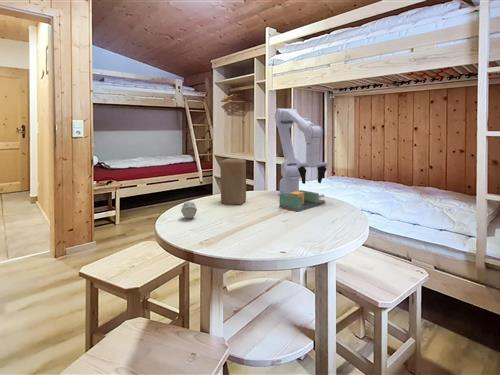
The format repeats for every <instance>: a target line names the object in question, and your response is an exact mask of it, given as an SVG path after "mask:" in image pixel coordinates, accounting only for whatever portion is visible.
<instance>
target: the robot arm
mask: <svg viewBox="0 0 500 375" xmlns="http://www.w3.org/2000/svg"><path fill="white" fill-rule="evenodd" d="M274 121H275V126H276V127H277V129H278V135H279V138H280V144H281V148H282V153H283V158H284V161H283V162H281V164H280V169H281V170H280V174H281V176H282V178H280V181H279V193H278V196H280V194H282V193H287V194H290V193H291V192H296V191H299V190H300V179H301V183H302V185H303V184H304V185H305V184H306V181H307V180H306V175H307V171H308V170H307V169H306V168H317V183H318V184H322V180H323V177H324V175H325V173H326V172H327V168H328V167H329V162H327V161H323V162H322V161H321V162H320V143H321V141H320V140H321V139H322V137H323V134H324V130H323V128H322V126H321V125H316V124H314V122H311V121H310V120H309V118H307V117H302V116H301V115H300V114H299V113H298V110H297V109H295V108H279V107H278V108H277V109H276V110H275V113H274ZM294 124H296V125H297V128H298V130H300V131H301V133H303V136H304V139H305V143H306V146H305V148H306V151H305V152H306V153H305V162H300V160H298V159H297V158H296V157H295V151H294V146H293V141H292V139H291V134H290V133H291V132H290V128H292V127H293V126H294Z"/></svg>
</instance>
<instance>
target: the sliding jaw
mask: <svg viewBox="0 0 500 375" xmlns="http://www.w3.org/2000/svg"><path fill="white" fill-rule="evenodd" d="M299 192H304V200H305V201H310V202H315V203H317V202H319V199H321V198H324V197H325V194H323V193H322V194H320V193H319V192H314V191H307V190H302V189H299Z"/></svg>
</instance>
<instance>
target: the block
mask: <svg viewBox="0 0 500 375" xmlns="http://www.w3.org/2000/svg"><path fill="white" fill-rule="evenodd" d="M219 164H220V166H219V167H220V168H219V170H220V171H219V172H220V173H219V174H220V202H221V204H222V205H231V204H234V206H237V205H238V206H240V205H241V206H242V205H243V203H245V202H246V200H247V160H246V159H245V158H225V159H222V160H221V161H220V163H219Z"/></svg>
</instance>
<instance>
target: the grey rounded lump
mask: <svg viewBox="0 0 500 375" xmlns="http://www.w3.org/2000/svg"><path fill="white" fill-rule="evenodd" d="M197 211H198V208H197V206H196V203H195V202H193V201H191V200H187V201H185V202H184V203H183V205H182V206H181V209H180V213H181V214H182V215H183V217H184V218H185V219H190V218H191V219H193V218H194V217H195V215H196V214H197Z"/></svg>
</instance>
